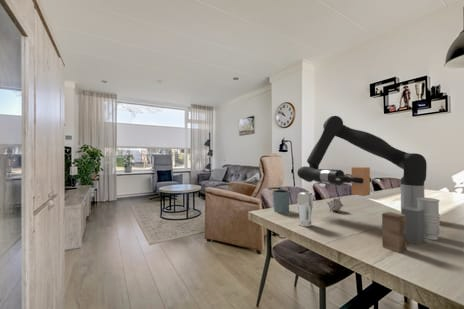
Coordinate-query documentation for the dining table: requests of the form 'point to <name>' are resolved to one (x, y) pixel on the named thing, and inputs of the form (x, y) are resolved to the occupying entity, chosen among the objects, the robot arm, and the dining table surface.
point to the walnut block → (394, 231)
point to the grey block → (414, 224)
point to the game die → (335, 204)
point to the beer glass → (305, 208)
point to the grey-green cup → (281, 200)
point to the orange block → (363, 187)
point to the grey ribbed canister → (430, 216)
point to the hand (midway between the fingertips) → (366, 180)
